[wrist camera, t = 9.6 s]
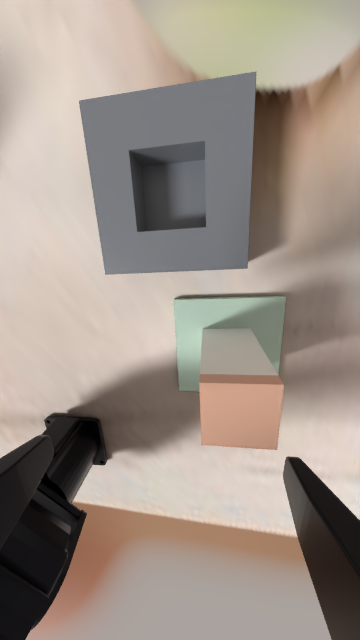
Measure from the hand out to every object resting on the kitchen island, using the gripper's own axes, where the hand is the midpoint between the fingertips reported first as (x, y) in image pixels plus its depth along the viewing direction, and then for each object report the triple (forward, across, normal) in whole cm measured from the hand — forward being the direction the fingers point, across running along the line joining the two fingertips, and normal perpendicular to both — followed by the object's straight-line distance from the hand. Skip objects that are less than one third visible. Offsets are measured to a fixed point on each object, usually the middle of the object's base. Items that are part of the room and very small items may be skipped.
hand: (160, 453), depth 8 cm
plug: (+11, -4, +1) cm, 12 cm away
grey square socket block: (+12, +1, -11) cm, 16 cm away
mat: (+12, -4, +1) cm, 12 cm away
